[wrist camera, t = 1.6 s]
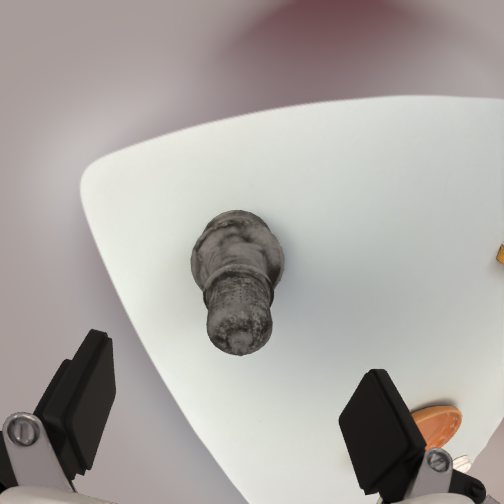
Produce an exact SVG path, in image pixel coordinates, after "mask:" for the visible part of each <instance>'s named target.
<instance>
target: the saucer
mask: <svg viewBox="0 0 504 504" xmlns="http://www.w3.org/2000/svg"><path fill="white" fill-rule="evenodd" d="M411 415H412V417H413V419H414V421H415V422H416V424H417V426H418V428H419V430H420V432H421V433H422V435H423V437H424V439H425V441H426V443H427V446H426V447H425V449H426V451H427V450H428V449H429V448H432V447H438V448H441V447H442V446H443V445H445V444H446V443H447V442H448V441H449V440H450V439H451V438H452V437H453V435H454V434H455V433H456V431H457V430H458V428H459V427H460V424H461V422H462V414H461V412H460V411H459V410H458V409H457V408H456V407H452V406H433V407H428V408H424V409H421V410H419V411H416V412H414V413H412V414H411Z"/></svg>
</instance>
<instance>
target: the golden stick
mask: <svg viewBox="0 0 504 504" xmlns="http://www.w3.org/2000/svg"><path fill="white" fill-rule="evenodd" d="M497 260H498V261H500V262H502V263H503V264H504V244H502V246H501V248H500V251H499V254H498V256H497Z"/></svg>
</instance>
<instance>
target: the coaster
mask: <svg viewBox="0 0 504 504" xmlns="http://www.w3.org/2000/svg"><path fill="white" fill-rule="evenodd" d="M470 467H471V463H470V460H469V459H468V457H467V456H461V457H459V458H457V459H455V460H453V469H456V470H458V471H460V472H462V473H465V472H467V470H469V468H470Z"/></svg>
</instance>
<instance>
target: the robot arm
mask: <svg viewBox="0 0 504 504" xmlns="http://www.w3.org/2000/svg"><path fill="white" fill-rule="evenodd" d="M115 394H116V386H115V374H114V362H113V346H112V339H111V338H109V337H108V335H107V333H106V332H102V331H98V330H94V329H91V330H90V331H89V333H88V334H87V336H86V338H85V339H84V341H83V343H82V344H81V346H80V347H79V349H78V351H77V353H76V354H75V356H74V358H73V359H72V360H69V359H66V360H64V361H63V362H62V364H61V365H60V367H59V369H58V370H57V372H56V374H55V375H54V377H53V379H52V380H51V382H50V384H49V386H48V387H47V389H46V391H45V393H44V394H43V396H42V398H41V400H40V402H39V403H38V405H37V407H36V409H35V411H34V413H33V414H31V413H26V412H17V413H14V414H12V415H10V416H9V417H8V418H7V419H6V420H5V422H4V424H3V428H2V431H0V504H117V503H113V502H109V501H105V500H101V499H97V498H94V497H90V496H86V495H83V494H79V493H78V492H77V490H76V488H75V487H74V484H73V483H72V481H71V480H74V479H75V475H76V473H77V474H80V475H83V476H84V474H85V471H86V469H87V470H91V468H92V465H93V461H94V458H95V455H96V452H97V449H98V446H99V443H100V440H101V436H102V433H103V430H104V427H105V424H106V422H107V419H108V416H109V413H110V410H111V407H112V404H113V402H114V399H115ZM339 426H340V429H341V431H342V434H343V437H344V440H345V443H346V446H347V449H348V452H349V455H350V458H351V461H352V464H353V468H354V471H355V474H356V477H357V480H358V483H359V486H360V488H361V489H363V490H364V493H365V495H370V494H375V493H378V492H379V494H380V497H379V499H378V501H377V503H376V504H500V503H499V502H497V501H496V500H495V499H494V498H492V497H491V496H490V495H487V496H486V489H485V487H484V485H483V484H482V483H481V481H479V480H478V479H475V478H473V477H471V476H469V475H466V474H464V473H462V472H460V471H458V470H456V469H453V460H452V458H451V456H450V454H449V453H448V452H447V451H445V450H444V449H442V448H438V447H432V448H429V449H428V450H427V451H426V449H425V447H426V446H427V443H426V441H425V439H424V437H423V435H422V433H421V432H420V430H419V428H418V426H417V424H416V422H415V421H414V419H413V417H412V415H411V413H410V411H409V410H408V408H407V406H406V404H405V403H404V401H403V399H402V397H401V395H400V394H399V392H398V390H397V388H396V387H395V385H394V383H393V382H392V380H391V378H390V376H389V375H388V373H387V371H386V370H384V369H371V370H369V372H368V373H366V374H365V375H364V376H363V378H362V380H361V382H360V383H359V385H358V387H357V389H356V390H355V392H354V394H353V395H352V397H351V399H350V400H349V402H348V404H347V405H346V407H345V408H344V410H343V411H342V413H341V415H340V417H339Z"/></svg>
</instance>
